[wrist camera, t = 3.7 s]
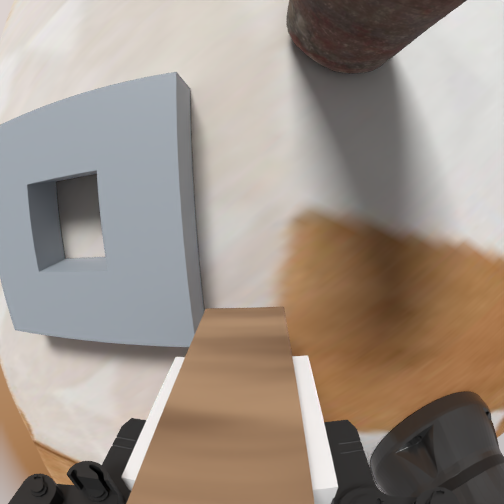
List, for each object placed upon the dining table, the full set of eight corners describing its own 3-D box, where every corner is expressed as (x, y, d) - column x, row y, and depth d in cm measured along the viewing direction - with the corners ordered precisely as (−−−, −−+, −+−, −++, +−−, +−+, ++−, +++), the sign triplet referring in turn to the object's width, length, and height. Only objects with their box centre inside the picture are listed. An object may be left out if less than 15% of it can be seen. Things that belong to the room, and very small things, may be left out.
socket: (205, 321, 21) (196, 347, 18) (37, 313, 22) (15, 330, 18) (190, 88, 17) (176, 71, 14) (14, 133, 18) (-14, 131, 14)
